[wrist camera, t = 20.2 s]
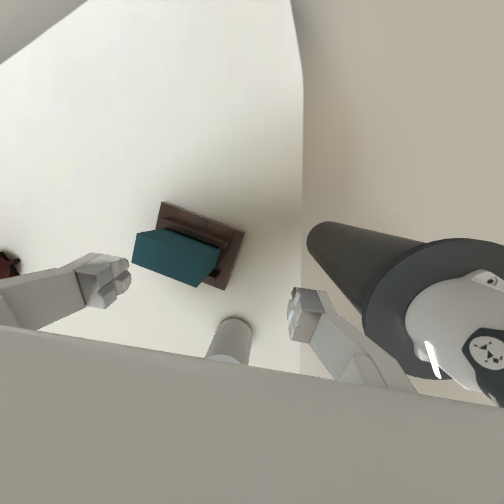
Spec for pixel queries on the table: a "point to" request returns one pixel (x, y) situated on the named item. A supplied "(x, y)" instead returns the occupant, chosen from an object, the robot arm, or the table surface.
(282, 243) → the table surface
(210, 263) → the back pad
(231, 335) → the can
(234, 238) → the board
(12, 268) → the mate gourd
